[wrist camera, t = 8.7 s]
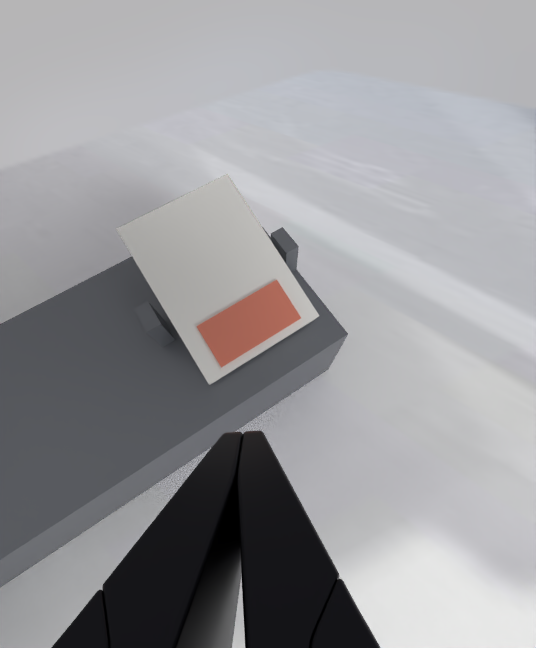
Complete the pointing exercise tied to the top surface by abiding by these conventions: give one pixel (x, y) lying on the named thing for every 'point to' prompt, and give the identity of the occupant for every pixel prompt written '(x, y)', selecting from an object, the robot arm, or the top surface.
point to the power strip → (121, 403)
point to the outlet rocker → (217, 277)
